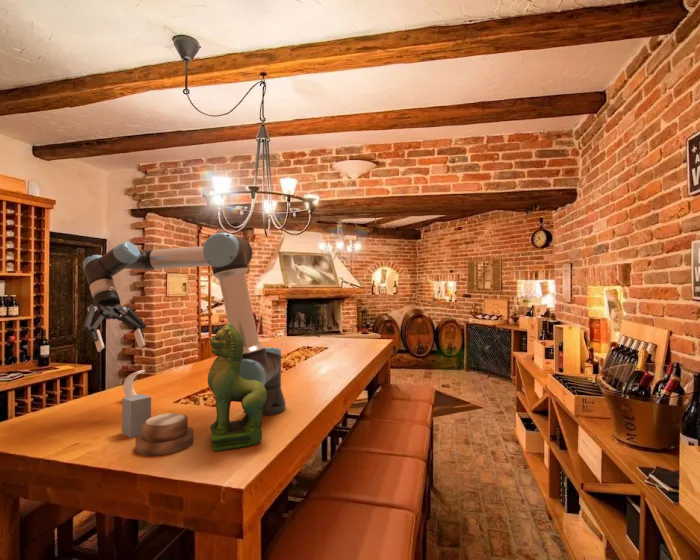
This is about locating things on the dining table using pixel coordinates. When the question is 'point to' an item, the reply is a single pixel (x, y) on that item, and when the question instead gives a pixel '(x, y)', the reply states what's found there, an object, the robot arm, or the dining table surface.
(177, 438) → the walnut pedestal
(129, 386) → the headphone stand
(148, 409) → the slate block
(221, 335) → the lion statue
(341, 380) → the dining table surface
